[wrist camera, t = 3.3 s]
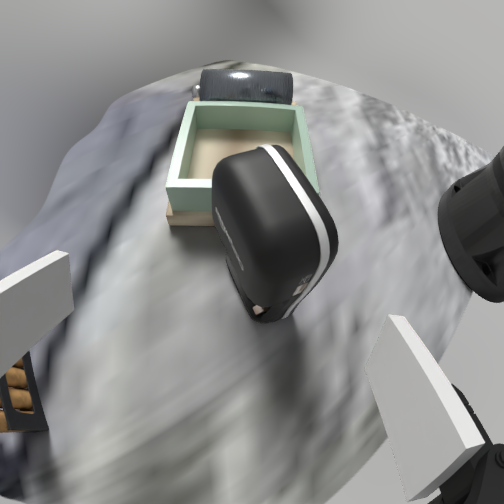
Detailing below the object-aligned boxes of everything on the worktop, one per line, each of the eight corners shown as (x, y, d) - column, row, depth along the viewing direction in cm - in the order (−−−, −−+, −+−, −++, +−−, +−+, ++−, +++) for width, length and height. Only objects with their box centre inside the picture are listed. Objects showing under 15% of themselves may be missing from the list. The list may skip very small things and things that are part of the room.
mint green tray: (294, 111, 32) (303, 66, 26) (311, 230, 24) (334, 180, 18) (194, 107, 31) (191, 61, 25) (169, 225, 23) (152, 173, 18)
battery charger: (212, 254, 23) (199, 144, 12) (256, 238, 23) (274, 126, 13) (247, 336, 20) (264, 279, 10) (295, 316, 21) (354, 242, 11)
